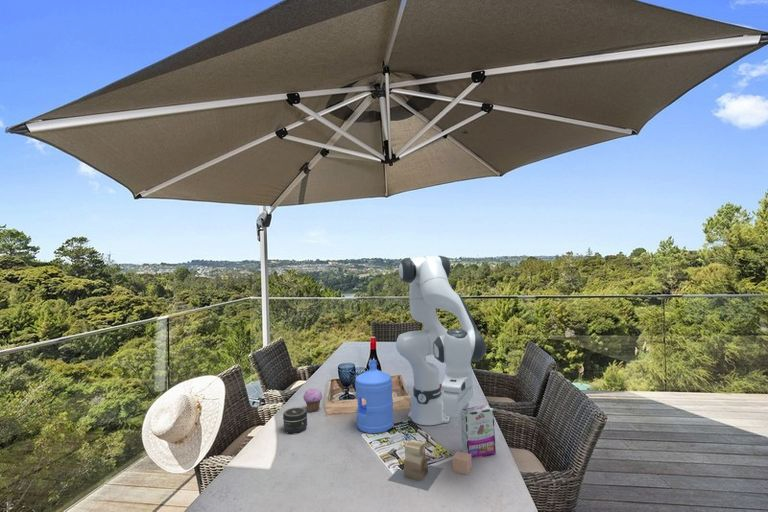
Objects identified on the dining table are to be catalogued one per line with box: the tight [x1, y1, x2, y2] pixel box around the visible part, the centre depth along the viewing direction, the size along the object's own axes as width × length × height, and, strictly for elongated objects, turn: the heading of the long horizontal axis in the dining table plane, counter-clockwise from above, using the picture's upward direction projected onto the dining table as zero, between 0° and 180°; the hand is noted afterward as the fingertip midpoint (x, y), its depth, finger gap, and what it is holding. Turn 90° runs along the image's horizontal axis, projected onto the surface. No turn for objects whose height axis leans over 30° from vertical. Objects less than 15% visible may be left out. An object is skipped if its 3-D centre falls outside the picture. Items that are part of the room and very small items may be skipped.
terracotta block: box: [451, 451, 473, 476], centre depth 139 cm, size 5×5×5 cm
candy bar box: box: [460, 404, 497, 459], centre depth 149 cm, size 11×5×16 cm, turn 105°
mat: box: [387, 464, 444, 492], centre depth 137 cm, size 14×14×1 cm
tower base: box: [402, 455, 429, 481], centre depth 137 cm, size 6×6×5 cm
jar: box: [282, 407, 308, 434], centre depth 176 cm, size 10×10×8 cm
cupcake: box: [303, 388, 323, 413], centre depth 197 cm, size 9×9×10 cm
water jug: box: [354, 359, 395, 434], centre depth 176 cm, size 16×16×28 cm
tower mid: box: [404, 439, 426, 464], centre depth 137 cm, size 5×5×5 cm
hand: (460, 419), depth 139 cm, fingers open, 8 cm apart
